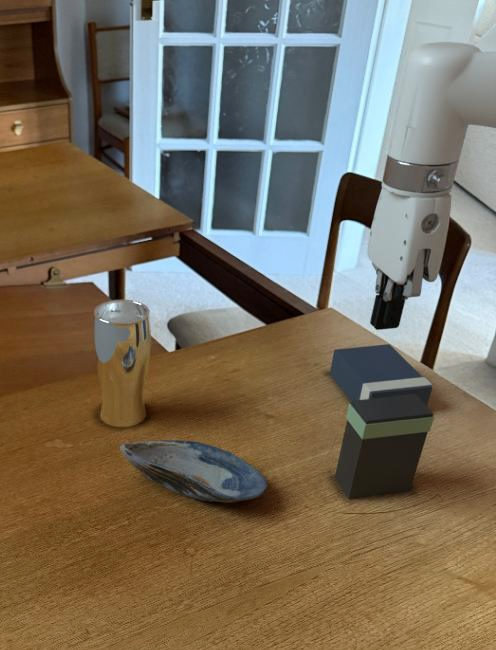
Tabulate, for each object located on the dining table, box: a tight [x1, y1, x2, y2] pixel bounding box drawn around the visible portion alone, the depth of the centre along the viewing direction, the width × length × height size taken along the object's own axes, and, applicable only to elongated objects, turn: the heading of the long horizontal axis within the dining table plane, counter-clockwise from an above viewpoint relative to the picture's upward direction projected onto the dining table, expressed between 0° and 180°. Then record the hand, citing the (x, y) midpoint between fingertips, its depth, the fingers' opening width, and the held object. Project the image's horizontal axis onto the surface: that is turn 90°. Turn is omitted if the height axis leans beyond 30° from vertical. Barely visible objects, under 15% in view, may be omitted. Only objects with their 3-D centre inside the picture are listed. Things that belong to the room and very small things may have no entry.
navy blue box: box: [329, 343, 433, 407], centre depth 98 cm, size 8×5×12 cm
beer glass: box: [92, 299, 152, 428], centre depth 92 cm, size 7×7×15 cm
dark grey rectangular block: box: [334, 394, 435, 500], centre depth 81 cm, size 8×4×11 cm, turn 99°
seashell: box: [119, 439, 268, 503], centre depth 83 cm, size 15×12×5 cm
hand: (384, 325), depth 95 cm, fingers closed
